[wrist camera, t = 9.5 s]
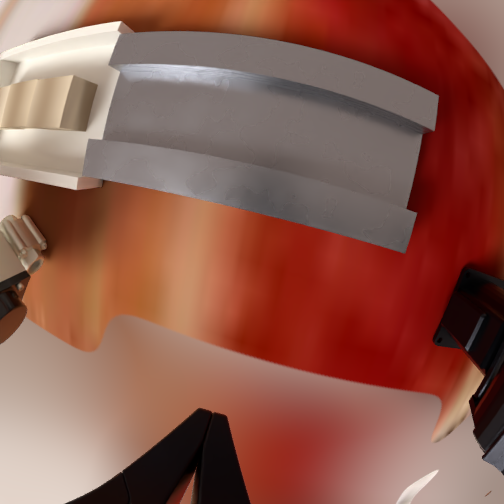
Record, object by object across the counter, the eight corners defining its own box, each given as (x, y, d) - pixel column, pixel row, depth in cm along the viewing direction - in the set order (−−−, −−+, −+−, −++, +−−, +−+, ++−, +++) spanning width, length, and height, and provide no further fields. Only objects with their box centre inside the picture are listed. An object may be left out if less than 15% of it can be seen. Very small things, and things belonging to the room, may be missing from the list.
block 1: (34, 90, 16) (10, 85, 13) (24, 129, 17) (0, 127, 14) (11, 93, 16) (-10, 90, 13) (3, 129, 17) (-19, 129, 14)
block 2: (62, 86, 16) (37, 78, 13) (51, 128, 17) (25, 126, 14) (34, 89, 16) (11, 84, 13) (24, 128, 17) (0, 127, 14)
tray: (140, 37, 15) (121, 21, 12) (101, 187, 18) (76, 190, 15) (18, 59, 16) (-1, 53, 13) (-6, 167, 19) (-27, 170, 16)
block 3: (97, 84, 16) (73, 75, 13) (85, 131, 17) (59, 127, 14) (62, 87, 16) (37, 80, 13) (51, 130, 17) (25, 127, 14)
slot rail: (420, 104, 15) (438, 95, 12) (389, 243, 17) (405, 253, 15) (136, 47, 15) (119, 34, 13) (103, 174, 18) (81, 175, 15)
